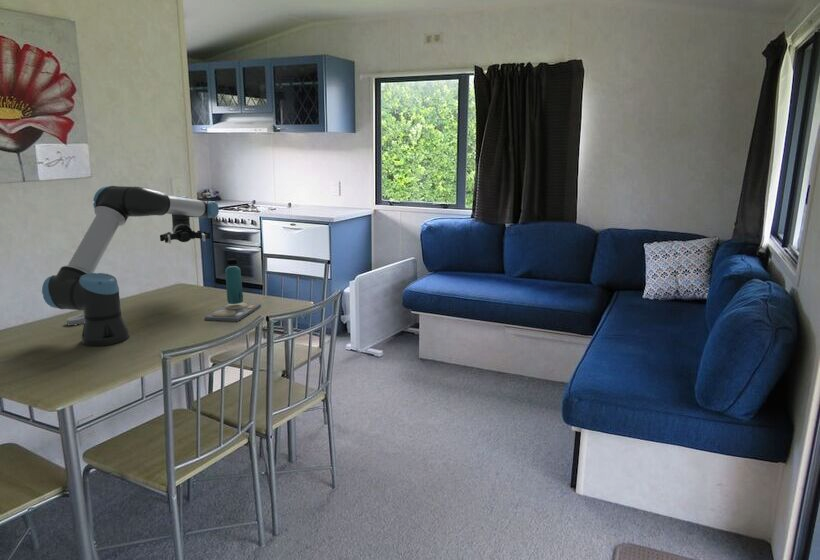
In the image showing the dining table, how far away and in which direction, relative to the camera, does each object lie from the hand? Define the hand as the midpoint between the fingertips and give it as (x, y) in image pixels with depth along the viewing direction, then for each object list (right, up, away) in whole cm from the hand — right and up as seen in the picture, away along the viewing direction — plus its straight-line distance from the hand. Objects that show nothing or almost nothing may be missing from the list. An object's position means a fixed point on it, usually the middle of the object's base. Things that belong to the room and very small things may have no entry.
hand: (187, 239), depth 247 cm
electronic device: (-36, -33, -11) cm, 50 cm away
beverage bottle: (+19, -28, +3) cm, 34 cm away
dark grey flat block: (+20, -31, -2) cm, 36 cm away
